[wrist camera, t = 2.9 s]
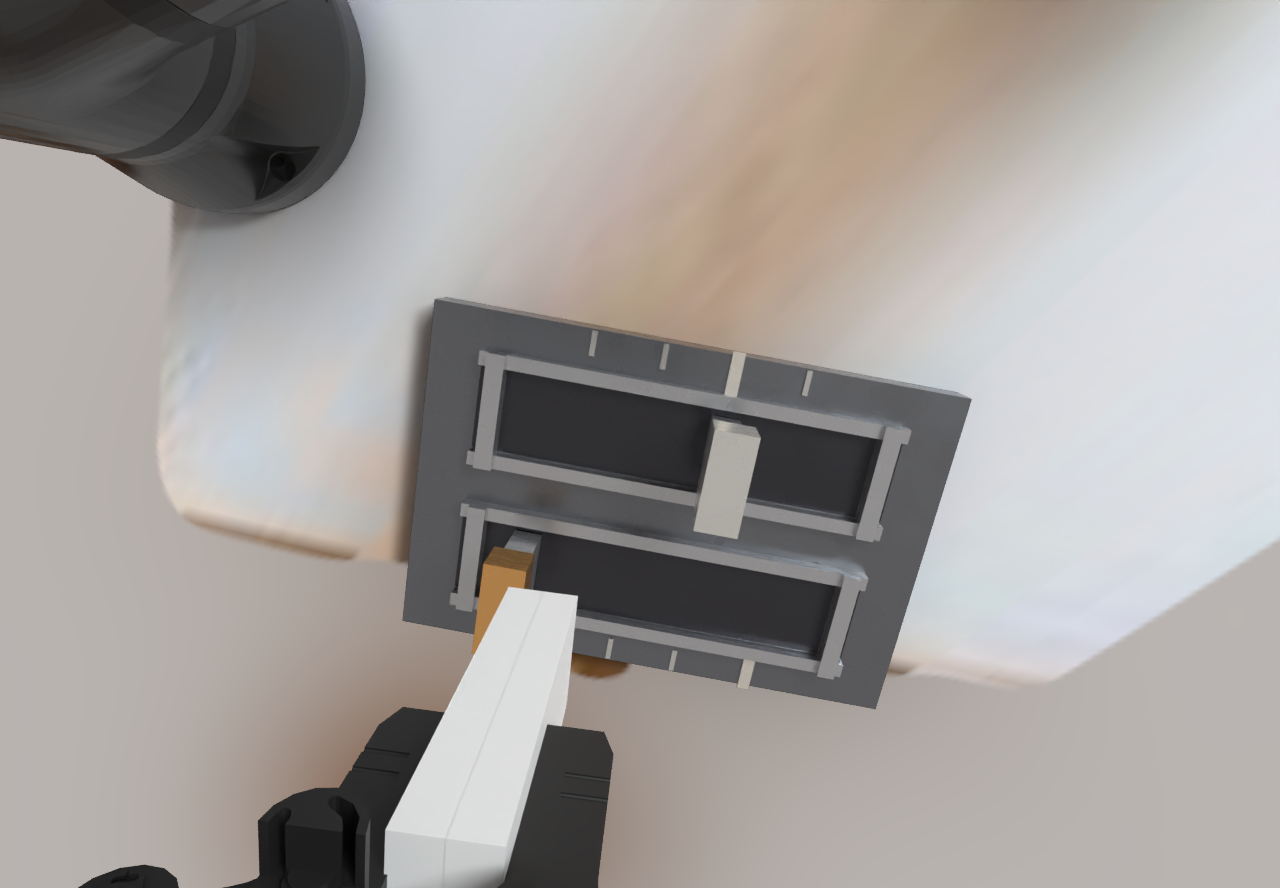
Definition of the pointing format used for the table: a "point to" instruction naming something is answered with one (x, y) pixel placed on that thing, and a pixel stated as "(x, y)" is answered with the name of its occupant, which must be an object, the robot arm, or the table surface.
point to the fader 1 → (505, 576)
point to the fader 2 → (725, 477)
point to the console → (677, 497)
